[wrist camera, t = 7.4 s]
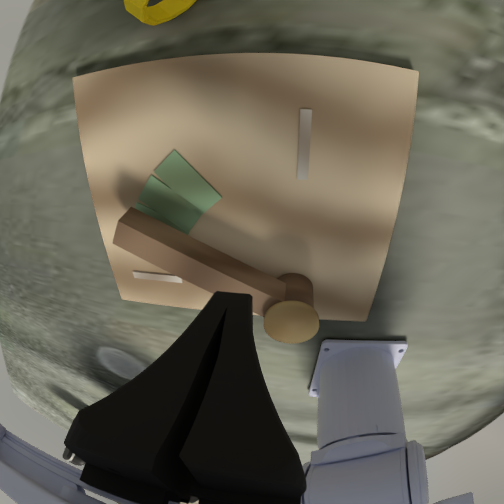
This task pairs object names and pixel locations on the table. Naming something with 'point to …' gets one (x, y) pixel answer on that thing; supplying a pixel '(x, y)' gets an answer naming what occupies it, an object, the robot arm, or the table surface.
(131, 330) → the table surface
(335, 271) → the tan wooden board
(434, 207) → the table surface
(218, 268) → the peg lever
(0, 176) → the table surface
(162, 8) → the watch
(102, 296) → the table surface
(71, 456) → the battery charger
